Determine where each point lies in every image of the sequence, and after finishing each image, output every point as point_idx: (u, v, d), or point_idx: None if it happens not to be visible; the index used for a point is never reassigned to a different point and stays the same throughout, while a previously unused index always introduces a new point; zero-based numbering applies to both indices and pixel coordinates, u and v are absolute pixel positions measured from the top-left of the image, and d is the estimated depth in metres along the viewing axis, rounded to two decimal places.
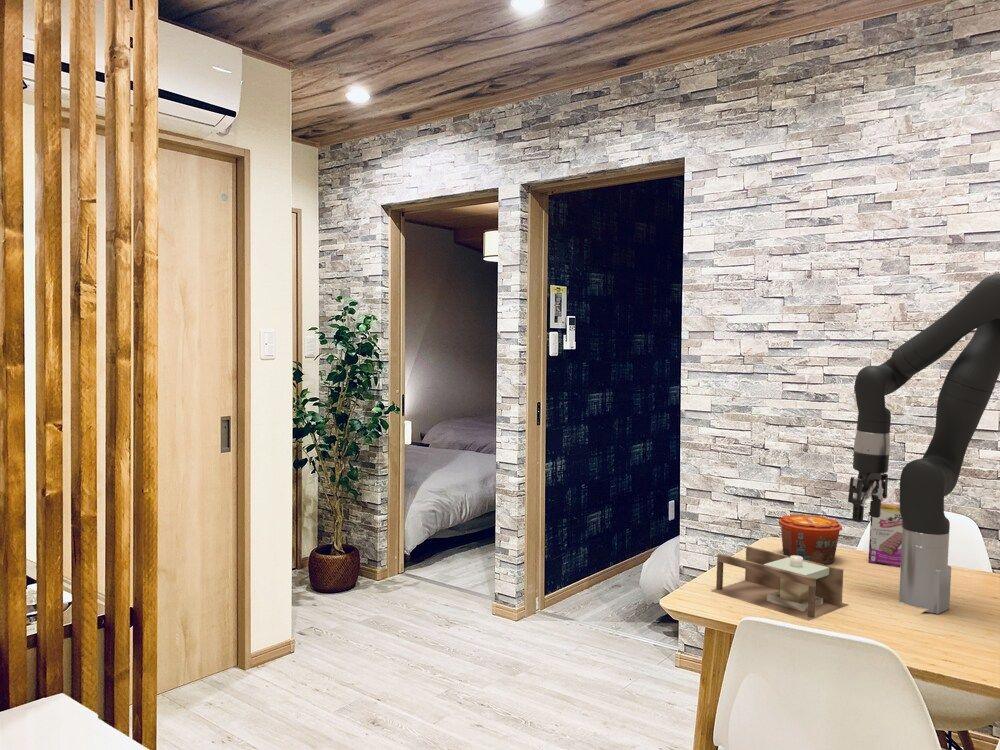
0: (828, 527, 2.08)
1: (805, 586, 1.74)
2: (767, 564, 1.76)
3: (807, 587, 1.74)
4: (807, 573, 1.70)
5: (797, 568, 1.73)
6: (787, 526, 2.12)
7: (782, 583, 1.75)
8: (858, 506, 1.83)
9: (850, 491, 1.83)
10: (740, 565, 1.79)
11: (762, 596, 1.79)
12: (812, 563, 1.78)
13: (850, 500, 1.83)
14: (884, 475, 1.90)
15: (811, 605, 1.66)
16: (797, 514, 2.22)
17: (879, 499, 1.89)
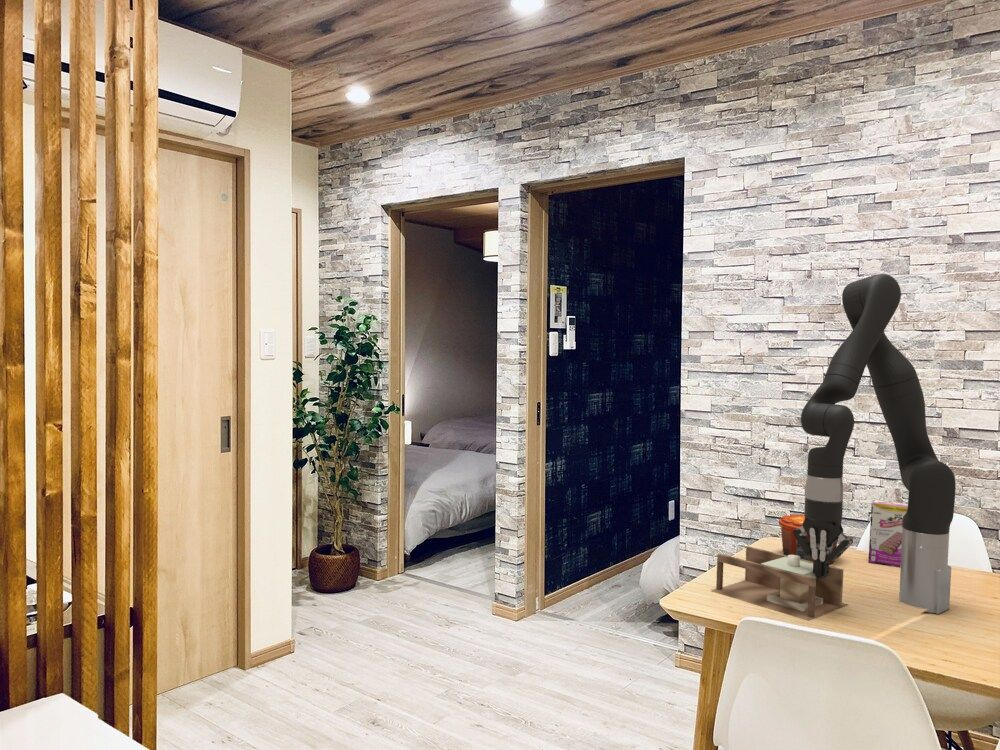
0: None
1: (805, 586, 1.74)
2: (764, 563, 1.77)
3: (807, 587, 1.74)
4: (804, 572, 1.70)
5: (794, 567, 1.74)
6: (787, 526, 2.12)
7: (782, 583, 1.75)
8: None
9: (839, 553, 1.67)
10: (740, 565, 1.79)
11: (762, 596, 1.79)
12: None
13: (833, 559, 1.68)
14: None
15: (811, 605, 1.66)
16: (797, 514, 2.22)
17: None
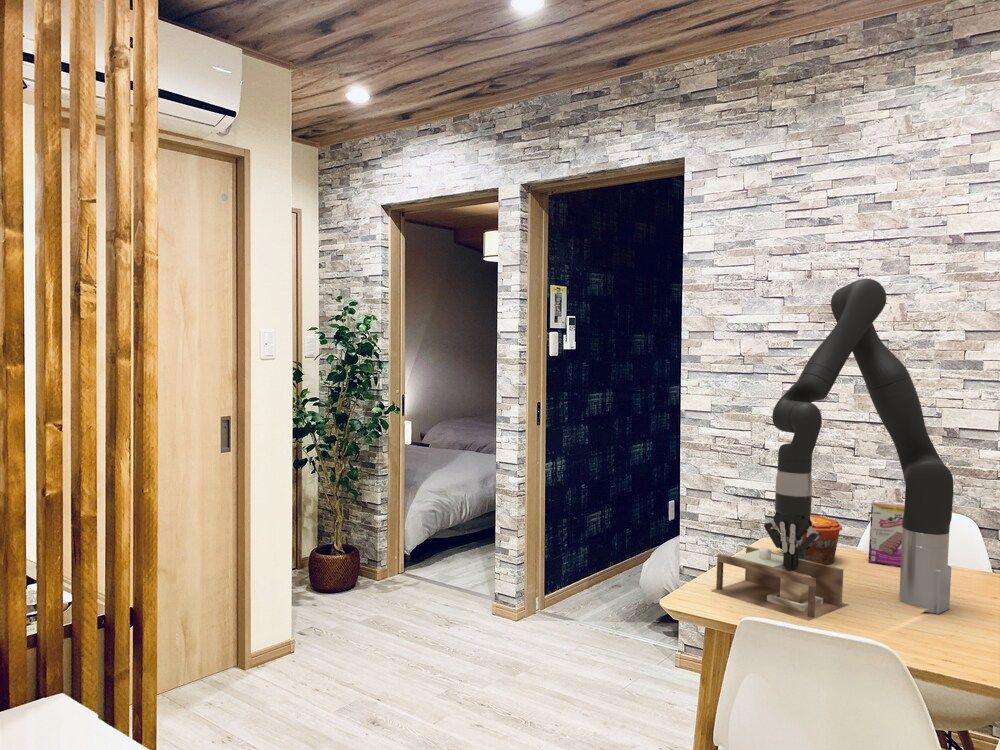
0: (828, 527, 2.08)
1: (805, 586, 1.74)
2: (737, 556, 1.82)
3: (807, 587, 1.74)
4: (774, 565, 1.76)
5: (765, 560, 1.79)
6: None
7: (782, 583, 1.75)
8: (798, 553, 1.75)
9: (808, 546, 1.72)
10: (740, 565, 1.79)
11: (762, 596, 1.79)
12: None
13: (802, 551, 1.73)
14: None
15: (811, 605, 1.66)
16: None
17: None
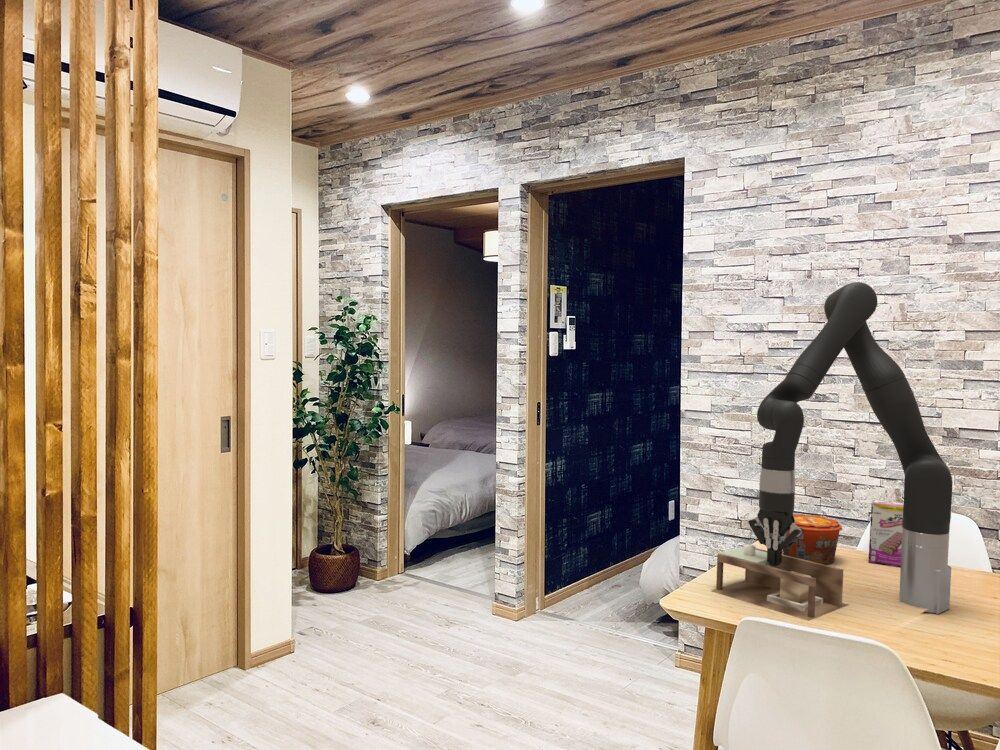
0: (828, 527, 2.08)
1: (805, 586, 1.74)
2: (722, 552, 1.85)
3: (807, 587, 1.74)
4: (758, 561, 1.79)
5: (750, 556, 1.82)
6: None
7: (782, 583, 1.75)
8: (781, 549, 1.78)
9: (790, 542, 1.75)
10: (740, 565, 1.79)
11: (762, 596, 1.79)
12: (765, 552, 1.87)
13: (785, 547, 1.76)
14: None
15: (811, 605, 1.66)
16: (797, 514, 2.22)
17: None
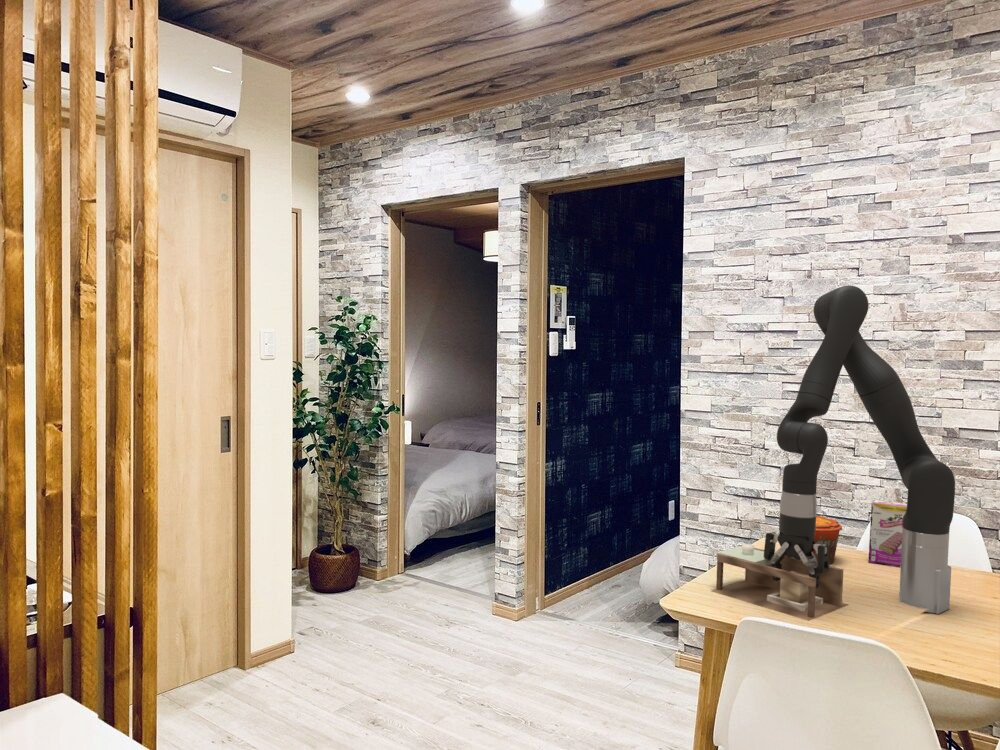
0: (828, 527, 2.08)
1: (805, 586, 1.74)
2: (720, 552, 1.85)
3: (807, 587, 1.74)
4: (757, 560, 1.79)
5: (748, 556, 1.83)
6: None
7: (782, 583, 1.75)
8: (819, 574, 1.72)
9: (823, 561, 1.70)
10: (740, 565, 1.79)
11: (762, 596, 1.79)
12: (763, 551, 1.87)
13: (824, 570, 1.70)
14: (775, 534, 1.80)
15: (811, 605, 1.66)
16: None
17: (781, 560, 1.79)
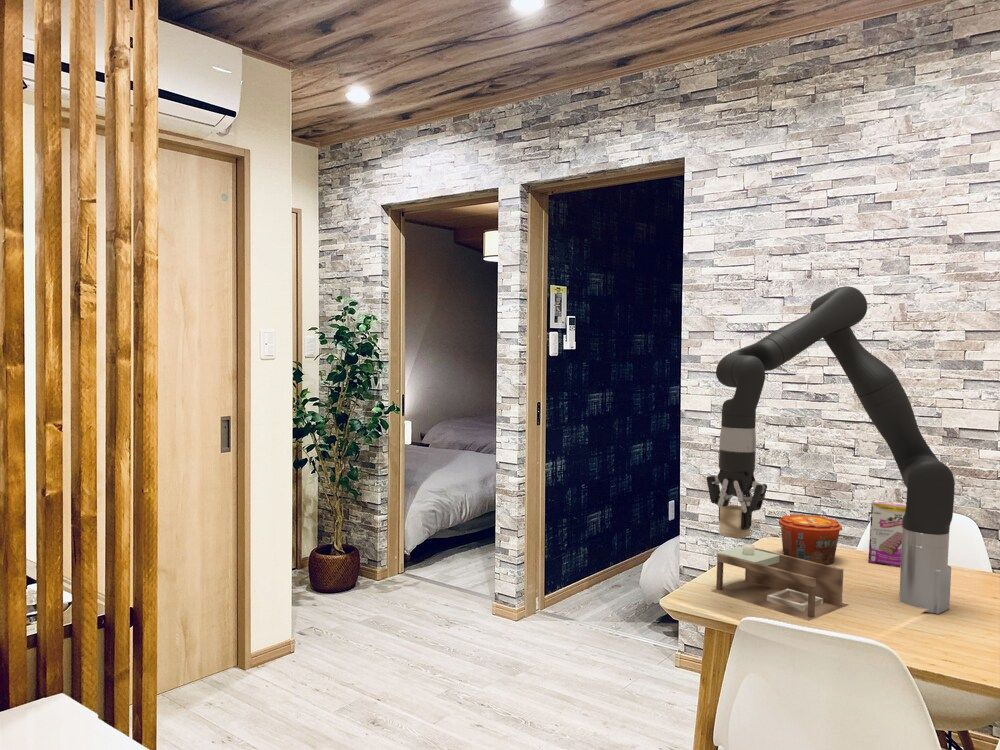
0: (828, 527, 2.08)
1: None
2: (721, 552, 1.85)
3: None
4: (757, 560, 1.79)
5: (748, 556, 1.83)
6: (787, 526, 2.12)
7: (722, 515, 1.72)
8: (751, 512, 1.69)
9: (757, 500, 1.66)
10: (740, 565, 1.79)
11: (762, 596, 1.79)
12: None
13: (755, 509, 1.67)
14: None
15: (811, 605, 1.66)
16: (797, 514, 2.22)
17: (728, 503, 1.74)
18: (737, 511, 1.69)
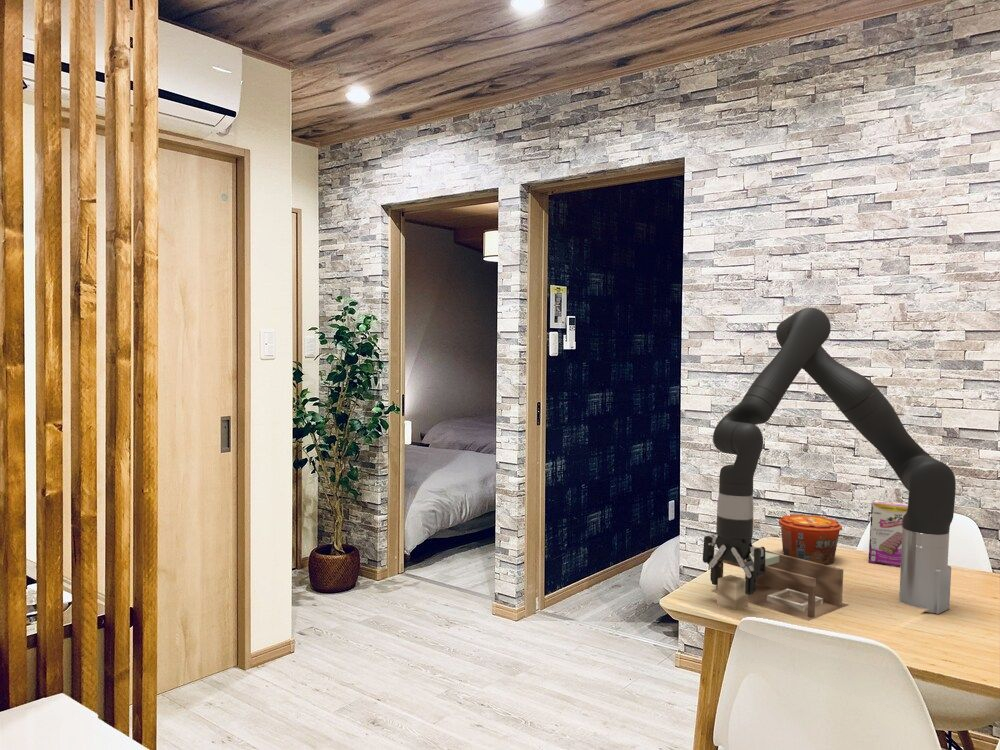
0: (828, 527, 2.08)
1: (742, 590, 1.71)
2: None
3: (744, 591, 1.71)
4: None
5: None
6: (787, 526, 2.12)
7: (719, 586, 1.72)
8: None
9: (759, 564, 1.66)
10: None
11: (762, 596, 1.79)
12: None
13: (760, 573, 1.66)
14: (713, 537, 1.77)
15: (811, 605, 1.66)
16: (797, 514, 2.22)
17: (720, 563, 1.76)
18: (735, 584, 1.69)
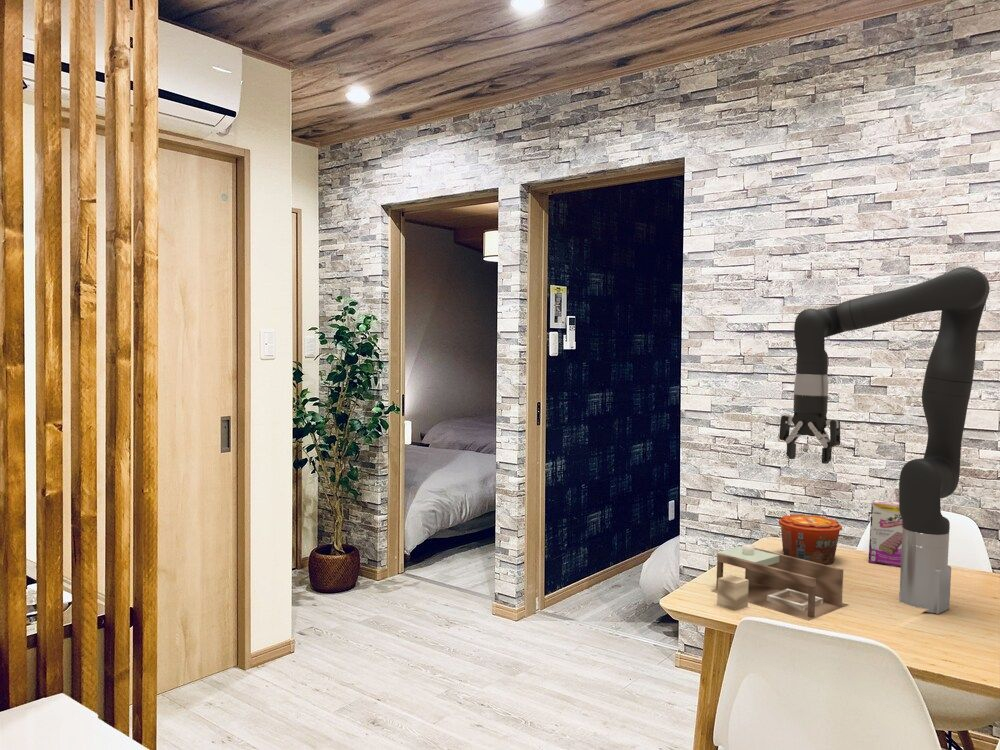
0: (828, 527, 2.08)
1: (742, 590, 1.71)
2: (721, 552, 1.85)
3: (744, 591, 1.71)
4: (757, 560, 1.79)
5: (748, 556, 1.83)
6: (787, 526, 2.12)
7: (719, 586, 1.72)
8: (831, 448, 1.86)
9: (835, 434, 1.84)
10: (740, 565, 1.79)
11: (762, 596, 1.79)
12: None
13: (836, 443, 1.84)
14: None
15: (811, 605, 1.66)
16: (797, 514, 2.22)
17: (795, 440, 1.94)
18: (735, 584, 1.69)
